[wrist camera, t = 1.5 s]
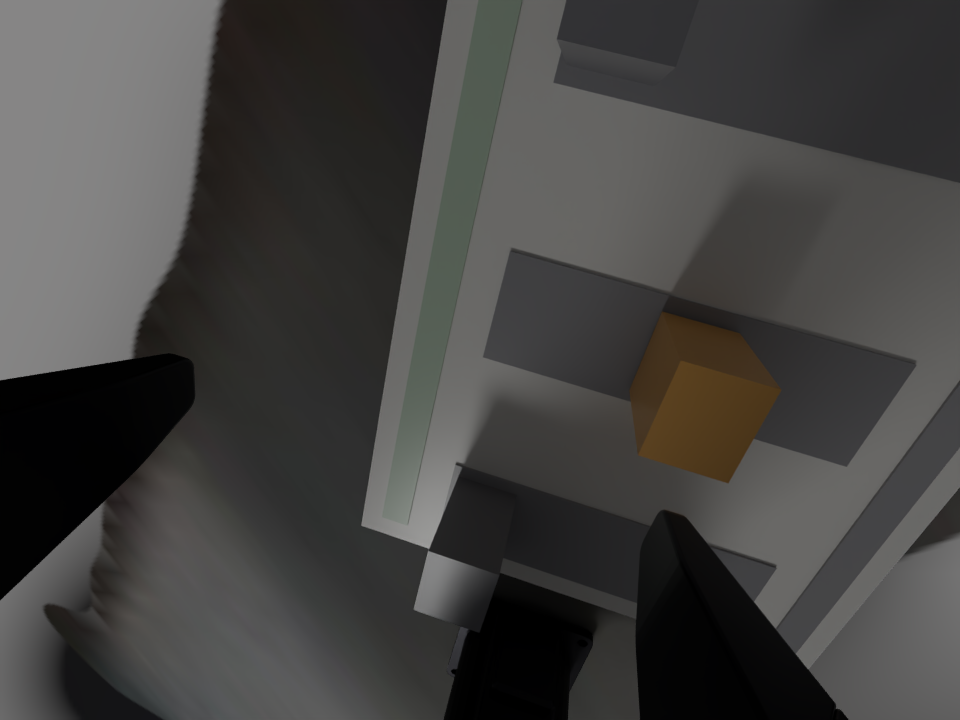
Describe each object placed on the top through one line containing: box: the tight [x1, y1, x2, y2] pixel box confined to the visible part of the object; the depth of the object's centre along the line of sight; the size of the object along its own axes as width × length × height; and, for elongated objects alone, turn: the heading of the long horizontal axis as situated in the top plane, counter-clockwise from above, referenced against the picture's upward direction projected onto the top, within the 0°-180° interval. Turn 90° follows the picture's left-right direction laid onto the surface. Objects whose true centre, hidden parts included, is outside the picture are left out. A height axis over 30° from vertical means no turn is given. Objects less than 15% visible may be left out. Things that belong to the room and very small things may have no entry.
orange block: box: [629, 311, 781, 483], centre depth 15 cm, size 3×2×4 cm
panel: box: [361, 0, 960, 669], centre depth 16 cm, size 24×20×6 cm
